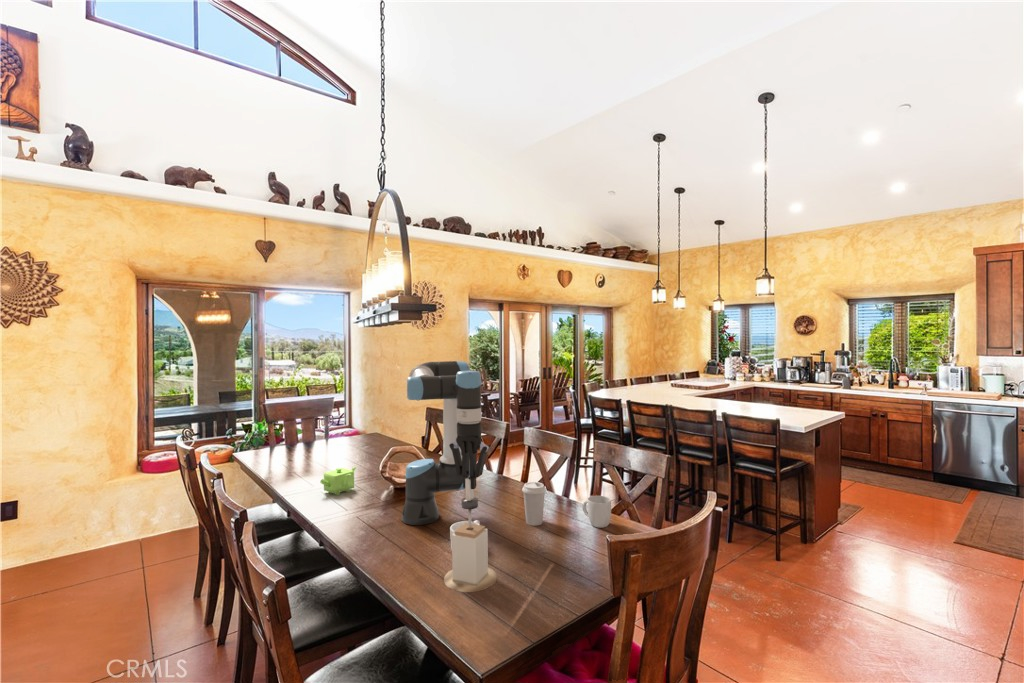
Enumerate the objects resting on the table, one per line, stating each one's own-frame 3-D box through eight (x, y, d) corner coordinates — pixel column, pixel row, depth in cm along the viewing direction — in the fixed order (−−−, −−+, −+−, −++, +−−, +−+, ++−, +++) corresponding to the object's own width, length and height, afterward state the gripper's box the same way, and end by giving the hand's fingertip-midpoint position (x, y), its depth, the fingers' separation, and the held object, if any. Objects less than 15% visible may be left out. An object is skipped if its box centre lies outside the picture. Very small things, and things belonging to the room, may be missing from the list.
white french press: (452, 581, 140) (451, 531, 140) (465, 569, 148) (464, 521, 148) (476, 586, 137) (475, 535, 137) (488, 573, 145) (487, 525, 144)
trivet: (433, 588, 138) (433, 585, 138) (460, 563, 153) (460, 561, 153) (482, 599, 132) (482, 596, 132) (504, 572, 147) (504, 570, 147)
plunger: (456, 552, 141) (456, 501, 141) (466, 544, 146) (465, 495, 146) (474, 556, 138) (474, 504, 138) (483, 547, 144) (482, 497, 144)
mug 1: (468, 559, 156) (467, 535, 156) (443, 552, 161) (443, 528, 161) (491, 544, 167) (490, 521, 167) (467, 537, 173) (467, 516, 173)
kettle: (357, 486, 235) (357, 463, 234) (353, 495, 221) (353, 471, 220) (326, 488, 232) (325, 465, 231) (320, 497, 218) (319, 473, 218)
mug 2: (615, 525, 183) (615, 499, 183) (601, 531, 177) (601, 505, 177) (590, 515, 193) (590, 491, 193) (576, 521, 187) (575, 496, 187)
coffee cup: (544, 528, 181) (544, 489, 181) (520, 526, 183) (520, 488, 183) (547, 518, 190) (547, 481, 190) (524, 517, 192) (524, 480, 192)
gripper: (444, 422, 141) (444, 500, 141) (482, 425, 136) (483, 505, 136) (456, 418, 148) (457, 492, 148) (493, 420, 143) (494, 497, 143)
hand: (469, 499), depth 142 cm, fingers closed
